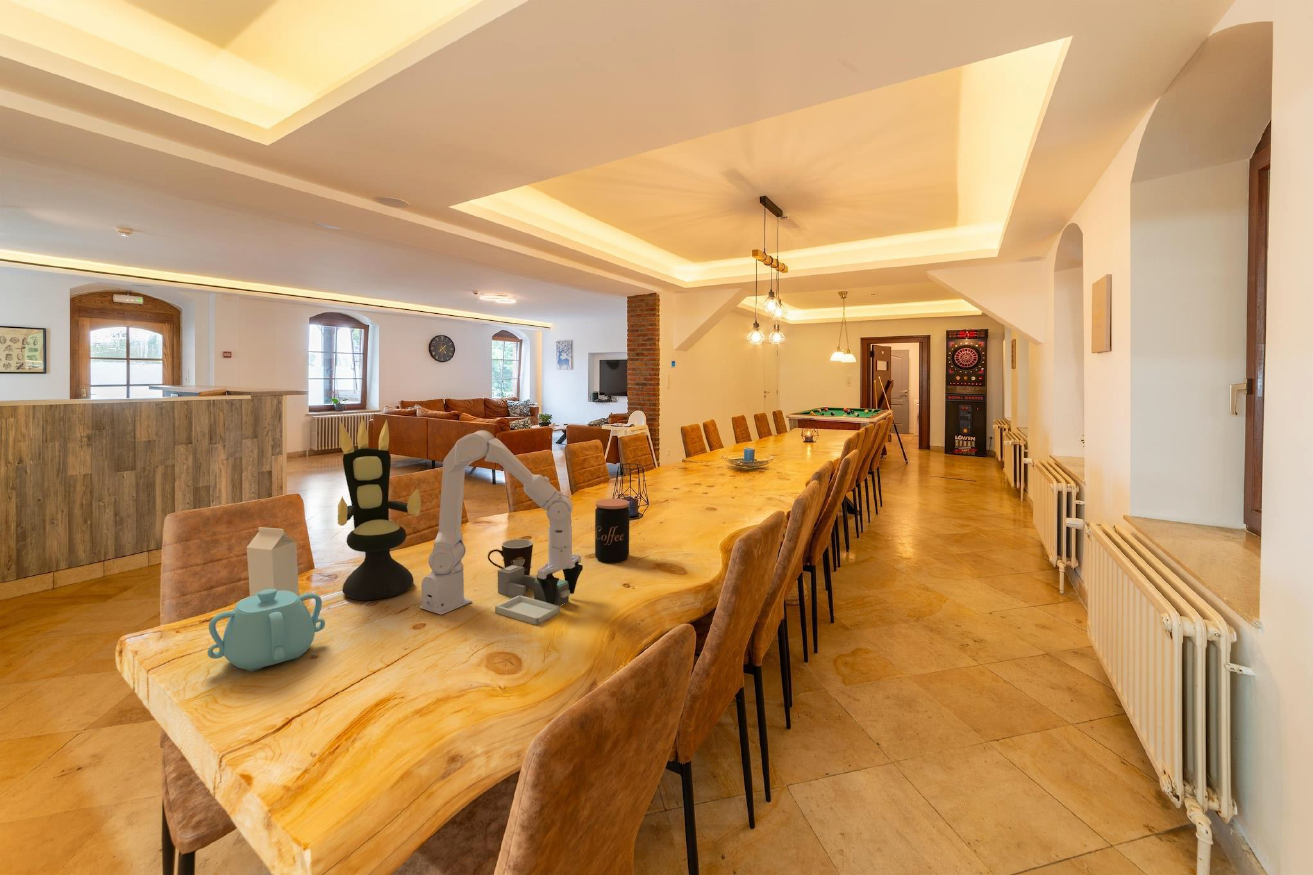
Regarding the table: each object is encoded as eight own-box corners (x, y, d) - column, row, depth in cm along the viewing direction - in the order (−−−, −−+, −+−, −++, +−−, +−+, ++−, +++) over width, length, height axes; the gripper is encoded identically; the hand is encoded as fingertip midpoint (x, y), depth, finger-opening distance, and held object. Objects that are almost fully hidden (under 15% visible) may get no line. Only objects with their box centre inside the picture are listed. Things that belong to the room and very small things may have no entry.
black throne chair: (343, 610, 134) (335, 423, 129) (326, 583, 151) (318, 417, 146) (425, 592, 146) (420, 420, 141) (401, 569, 163) (395, 415, 158)
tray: (537, 625, 128) (537, 618, 127) (495, 612, 134) (495, 606, 134) (560, 612, 135) (560, 606, 134) (519, 601, 141) (519, 595, 141)
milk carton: (275, 610, 133) (270, 533, 131) (250, 608, 135) (245, 531, 133) (299, 599, 140) (295, 525, 138) (275, 596, 142) (271, 523, 140)
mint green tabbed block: (561, 608, 137) (561, 586, 137) (533, 600, 142) (533, 579, 141) (571, 602, 141) (571, 581, 140) (544, 595, 145) (544, 575, 145)
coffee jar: (589, 561, 172) (589, 504, 170) (602, 551, 182) (603, 497, 180) (621, 565, 169) (622, 507, 167) (633, 555, 179) (634, 500, 177)
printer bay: (523, 600, 142) (523, 576, 141) (497, 593, 146) (496, 569, 145) (542, 591, 148) (542, 568, 147) (516, 584, 152) (516, 562, 152)
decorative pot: (196, 674, 105) (191, 604, 104) (266, 635, 121) (262, 574, 119) (274, 681, 103) (270, 610, 101) (335, 640, 119) (332, 579, 117)
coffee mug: (537, 573, 161) (537, 539, 160) (527, 584, 153) (527, 548, 152) (498, 571, 162) (498, 537, 161) (486, 582, 154) (486, 546, 153)
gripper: (553, 555, 130) (553, 611, 132) (590, 540, 143) (590, 591, 144) (530, 550, 134) (531, 605, 135) (569, 536, 146) (569, 586, 148)
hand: (560, 597), depth 140 cm, fingers open, 7 cm apart
